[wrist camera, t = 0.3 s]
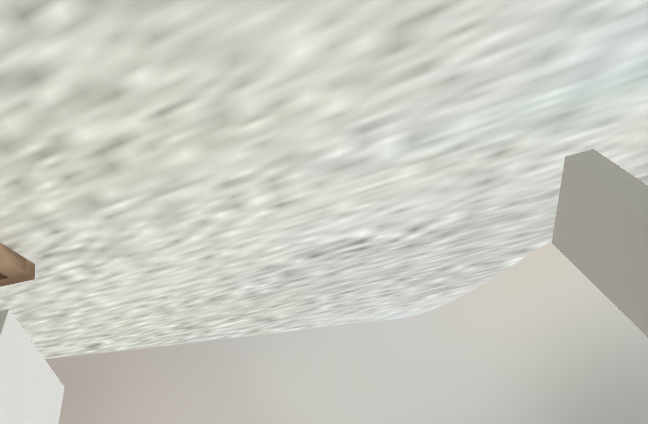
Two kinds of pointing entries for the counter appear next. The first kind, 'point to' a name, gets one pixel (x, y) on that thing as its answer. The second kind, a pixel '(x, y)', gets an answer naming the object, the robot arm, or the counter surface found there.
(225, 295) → the counter surface
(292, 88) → the counter surface
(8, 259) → the wooden frame
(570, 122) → the counter surface
